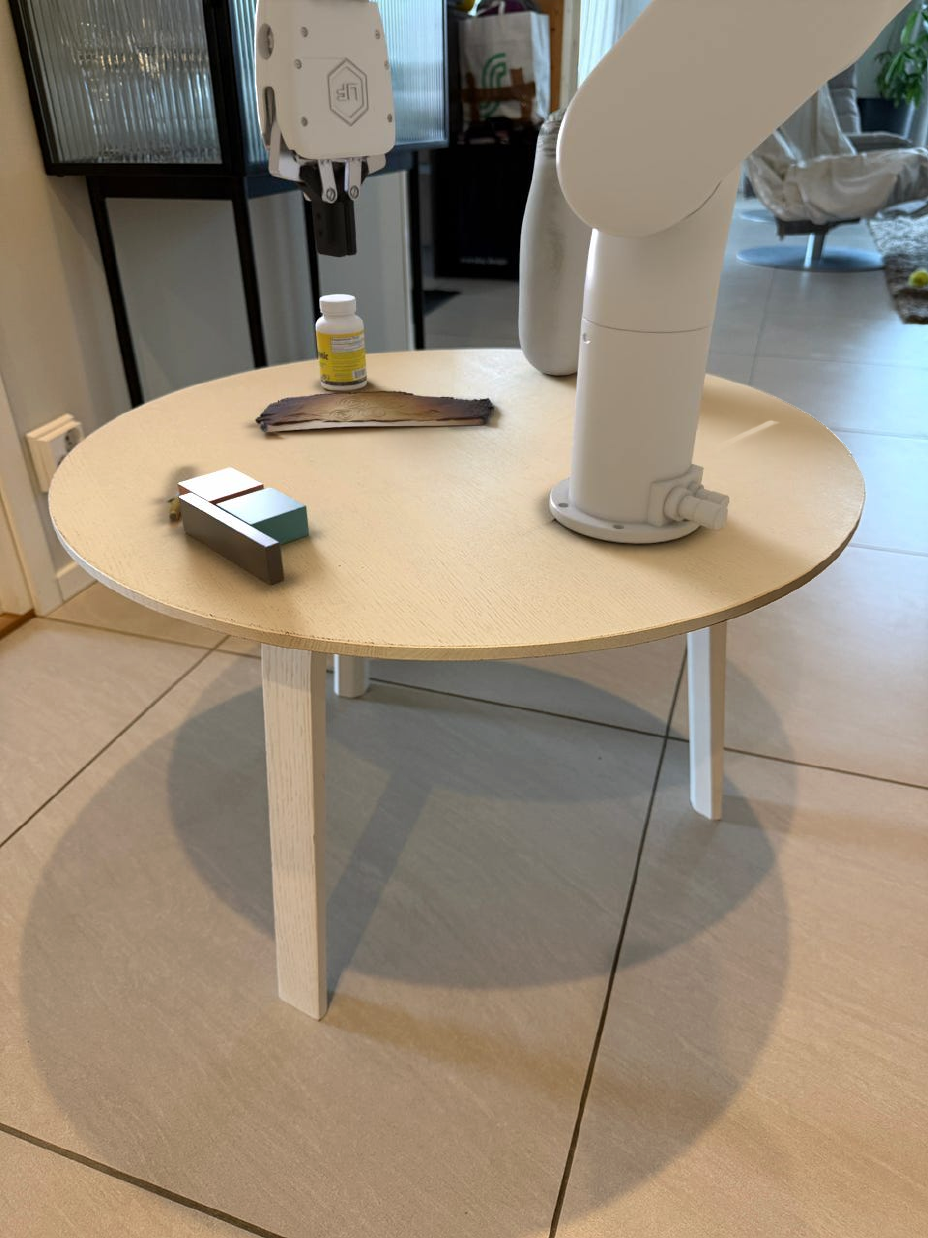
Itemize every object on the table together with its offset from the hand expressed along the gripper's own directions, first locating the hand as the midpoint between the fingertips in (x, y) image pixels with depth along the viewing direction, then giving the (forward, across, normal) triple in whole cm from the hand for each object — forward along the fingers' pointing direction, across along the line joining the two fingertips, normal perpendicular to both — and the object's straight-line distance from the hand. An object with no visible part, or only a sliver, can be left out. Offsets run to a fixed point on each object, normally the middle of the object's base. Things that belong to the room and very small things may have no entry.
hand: (337, 253), depth 71 cm
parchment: (+18, +11, +9) cm, 23 cm away
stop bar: (+18, -18, -7) cm, 27 cm away
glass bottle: (+19, +37, +5) cm, 42 cm away
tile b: (+18, -14, 0) cm, 23 cm away
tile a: (+18, -14, -6) cm, 24 cm away
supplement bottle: (+18, +15, +20) cm, 31 cm away
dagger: (+19, -15, +6) cm, 24 cm away
